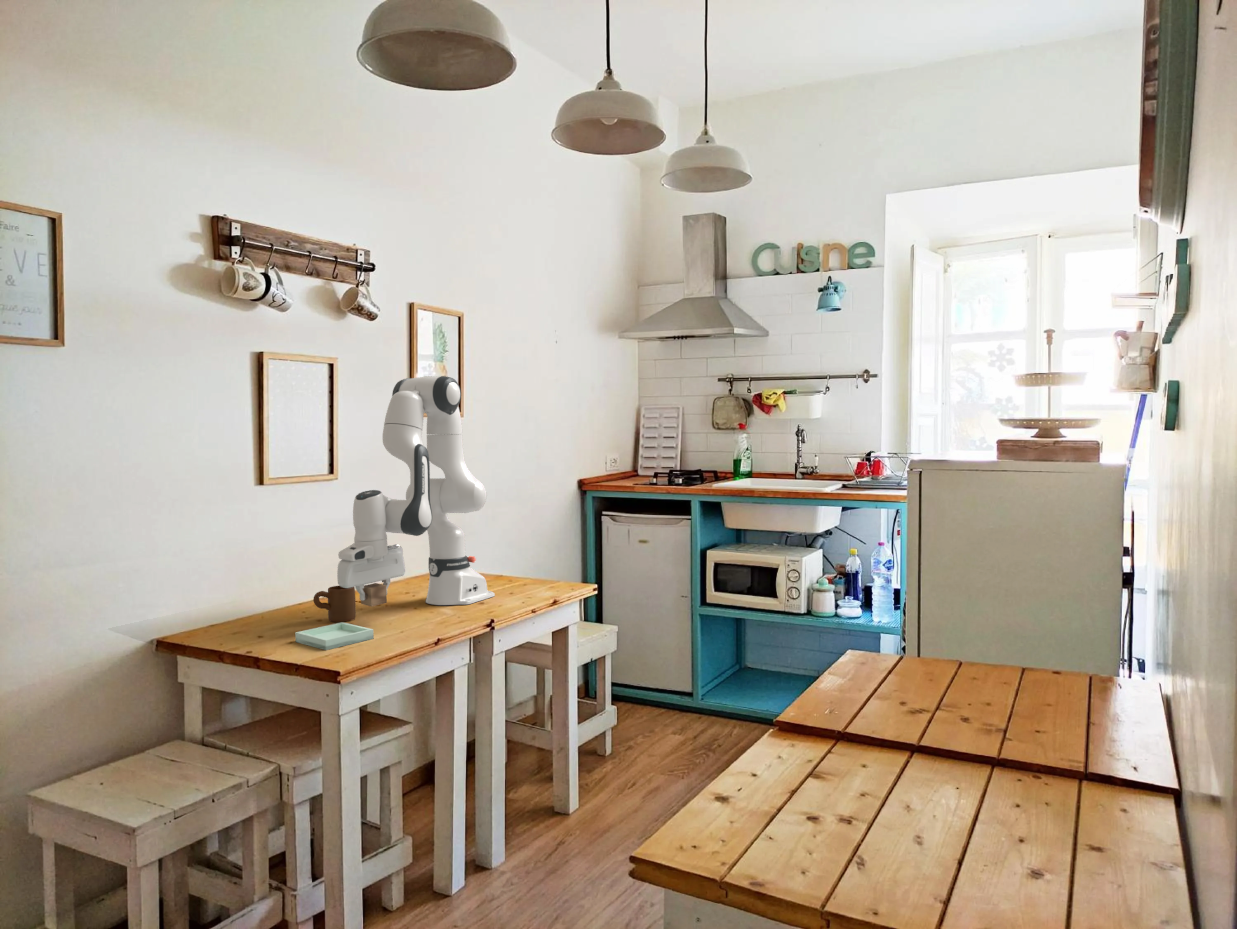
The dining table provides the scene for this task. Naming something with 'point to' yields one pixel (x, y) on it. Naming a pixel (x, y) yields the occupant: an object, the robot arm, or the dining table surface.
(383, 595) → the block
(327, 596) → the mug
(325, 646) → the tray
